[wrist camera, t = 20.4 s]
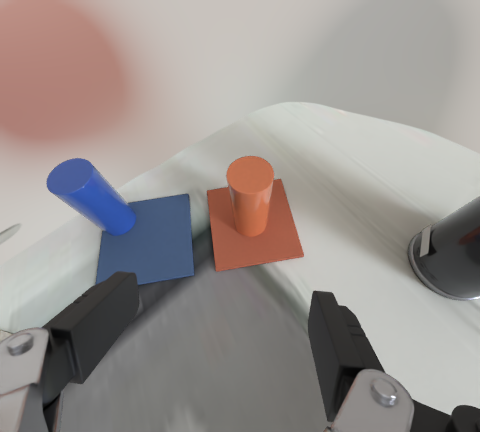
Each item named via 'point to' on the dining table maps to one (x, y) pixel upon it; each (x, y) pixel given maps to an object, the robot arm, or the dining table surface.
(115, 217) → the blue canister
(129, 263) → the blue mat
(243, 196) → the terracotta canister
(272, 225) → the terracotta mat
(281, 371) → the dining table surface
